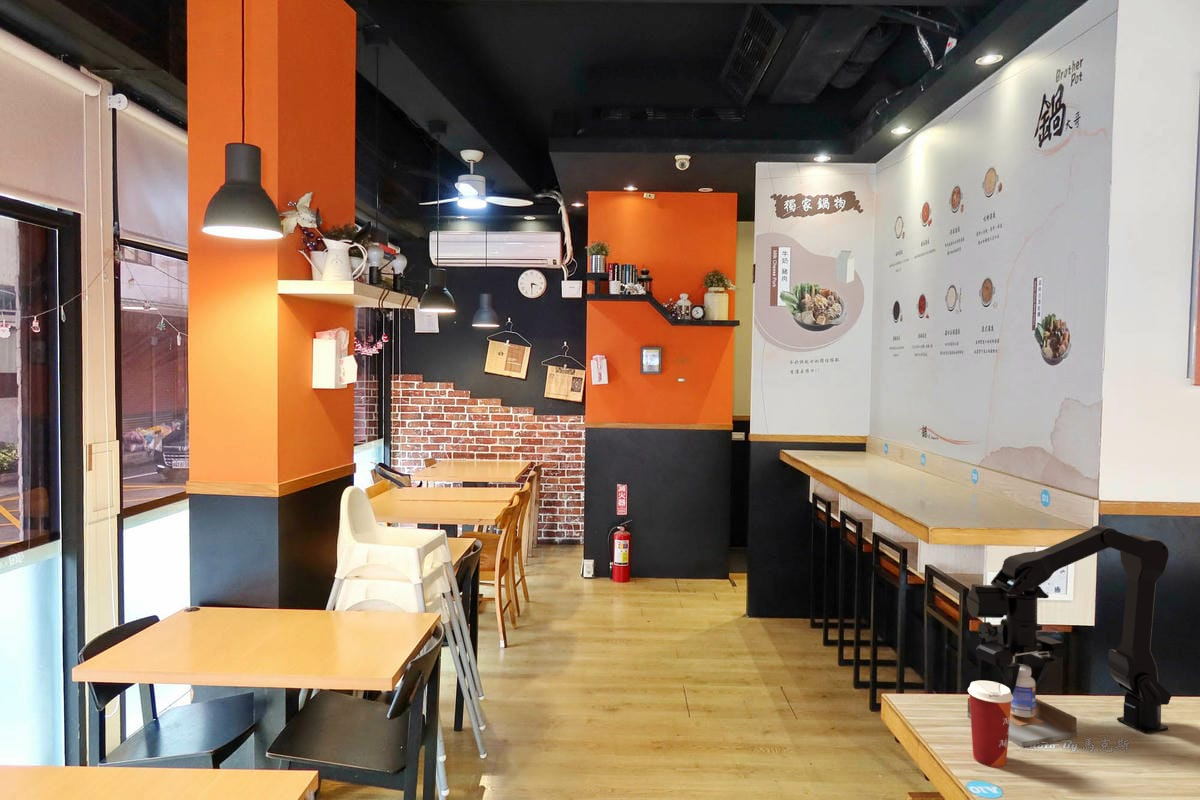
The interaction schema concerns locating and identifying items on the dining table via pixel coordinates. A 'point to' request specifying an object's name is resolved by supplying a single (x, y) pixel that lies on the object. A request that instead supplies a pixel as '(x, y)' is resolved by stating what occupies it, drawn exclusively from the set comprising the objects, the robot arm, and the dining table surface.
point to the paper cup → (990, 721)
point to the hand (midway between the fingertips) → (1021, 690)
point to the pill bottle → (1024, 694)
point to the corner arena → (1040, 725)
